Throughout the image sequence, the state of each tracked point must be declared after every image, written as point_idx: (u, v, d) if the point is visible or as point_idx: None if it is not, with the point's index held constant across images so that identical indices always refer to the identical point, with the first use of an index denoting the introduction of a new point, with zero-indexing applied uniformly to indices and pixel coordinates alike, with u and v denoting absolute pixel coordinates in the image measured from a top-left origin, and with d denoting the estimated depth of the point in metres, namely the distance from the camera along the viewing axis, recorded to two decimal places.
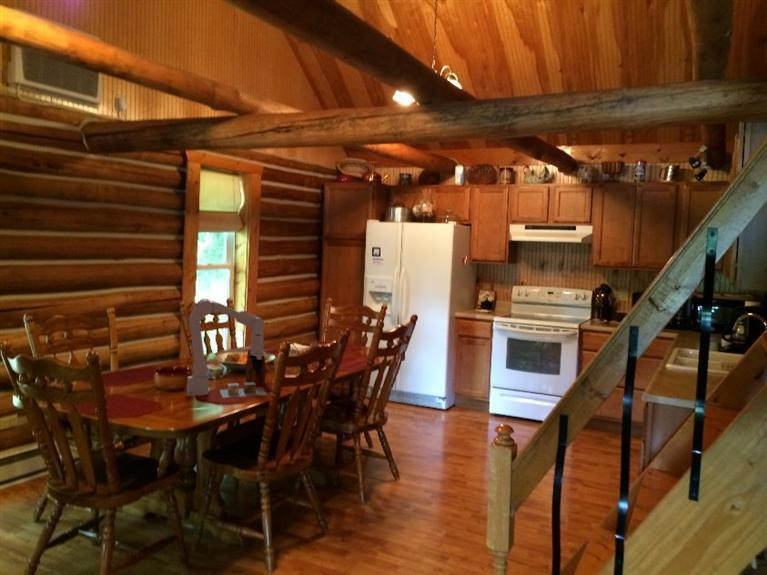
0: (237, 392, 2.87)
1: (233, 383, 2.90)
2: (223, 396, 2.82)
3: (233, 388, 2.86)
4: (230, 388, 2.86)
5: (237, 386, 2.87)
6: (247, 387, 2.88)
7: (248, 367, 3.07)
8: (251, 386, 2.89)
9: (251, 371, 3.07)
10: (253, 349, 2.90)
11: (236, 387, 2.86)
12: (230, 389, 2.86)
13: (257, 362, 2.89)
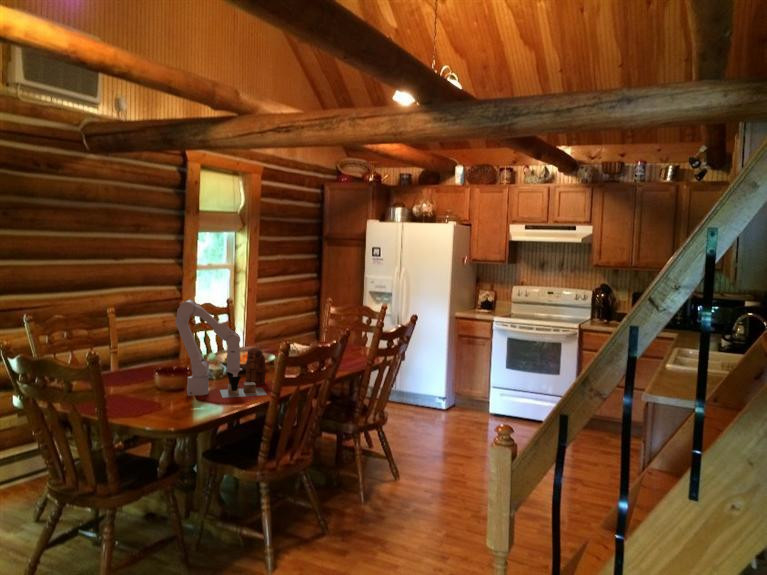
0: (237, 392, 2.87)
1: None
2: (223, 396, 2.82)
3: None
4: (230, 388, 2.86)
5: None
6: (247, 387, 2.88)
7: (248, 367, 3.07)
8: (251, 386, 2.89)
9: (251, 371, 3.07)
10: (229, 366, 2.85)
11: None
12: (230, 389, 2.86)
13: (233, 379, 2.84)
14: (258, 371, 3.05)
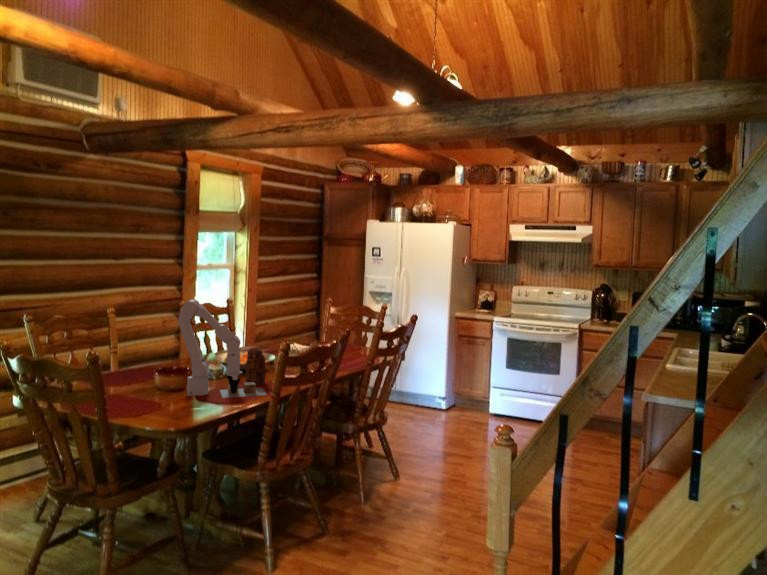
0: (237, 392, 2.87)
1: None
2: (223, 396, 2.82)
3: None
4: (230, 388, 2.86)
5: None
6: (247, 387, 2.88)
7: (248, 367, 3.07)
8: (251, 386, 2.89)
9: (251, 371, 3.07)
10: (229, 369, 2.85)
11: None
12: (230, 389, 2.86)
13: (233, 382, 2.85)
14: (258, 371, 3.05)
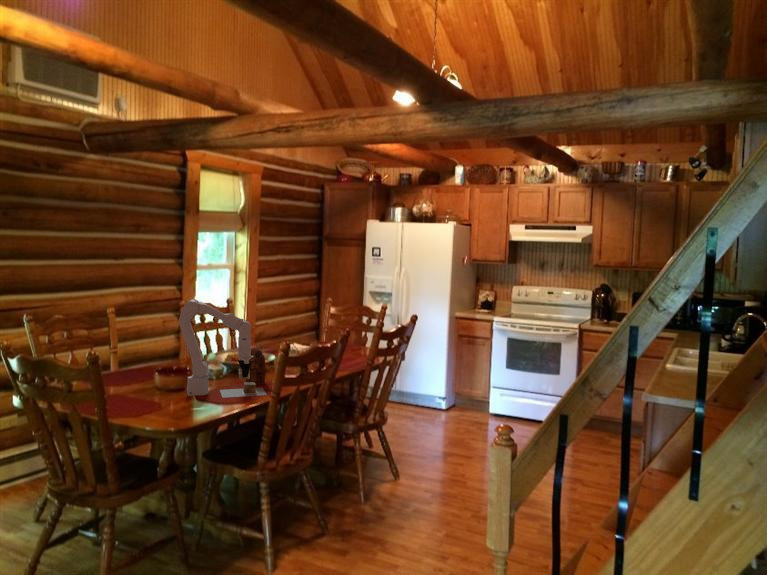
0: (248, 377, 2.88)
1: None
2: (223, 396, 2.82)
3: None
4: (241, 373, 2.87)
5: None
6: (247, 387, 2.88)
7: None
8: (251, 386, 2.89)
9: (251, 371, 3.07)
10: (240, 353, 2.86)
11: None
12: (241, 373, 2.87)
13: (244, 366, 2.86)
14: (258, 371, 3.05)
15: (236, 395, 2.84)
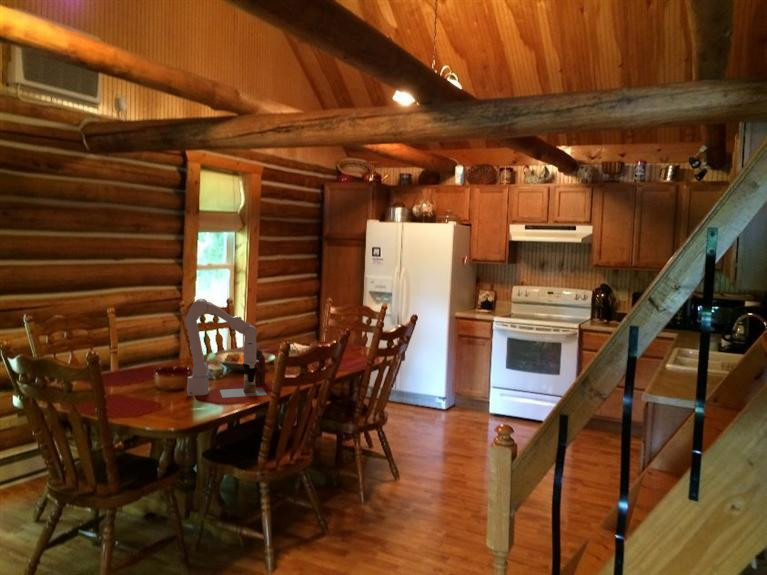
0: (253, 383, 2.89)
1: None
2: (223, 396, 2.82)
3: None
4: (246, 379, 2.88)
5: None
6: (247, 387, 2.88)
7: None
8: (251, 386, 2.89)
9: None
10: (246, 358, 2.87)
11: None
12: (246, 379, 2.88)
13: (250, 371, 2.86)
14: (258, 371, 3.05)
15: (236, 395, 2.84)
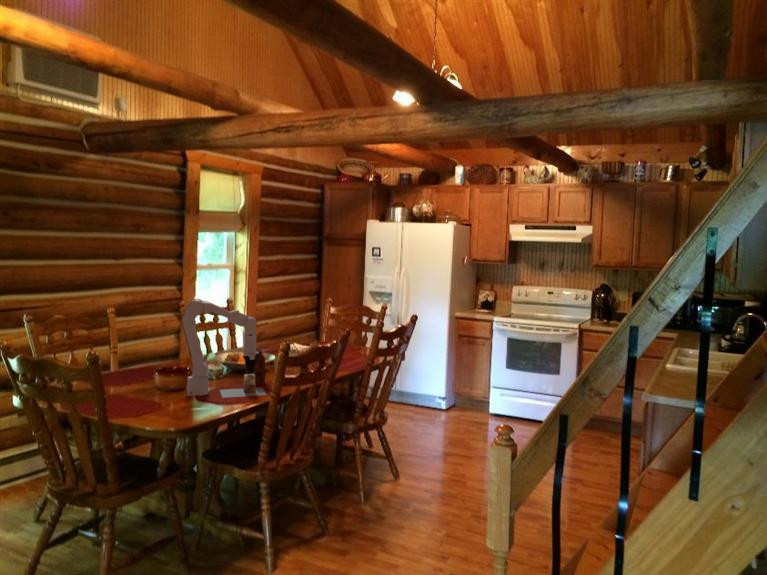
0: (253, 383, 2.89)
1: (249, 374, 2.92)
2: (223, 396, 2.82)
3: (249, 379, 2.88)
4: (246, 379, 2.88)
5: (253, 377, 2.89)
6: (247, 387, 2.88)
7: None
8: (251, 386, 2.89)
9: None
10: (246, 349, 2.87)
11: (252, 378, 2.89)
12: (246, 379, 2.88)
13: (249, 361, 2.87)
14: (258, 371, 3.05)
15: (236, 395, 2.84)
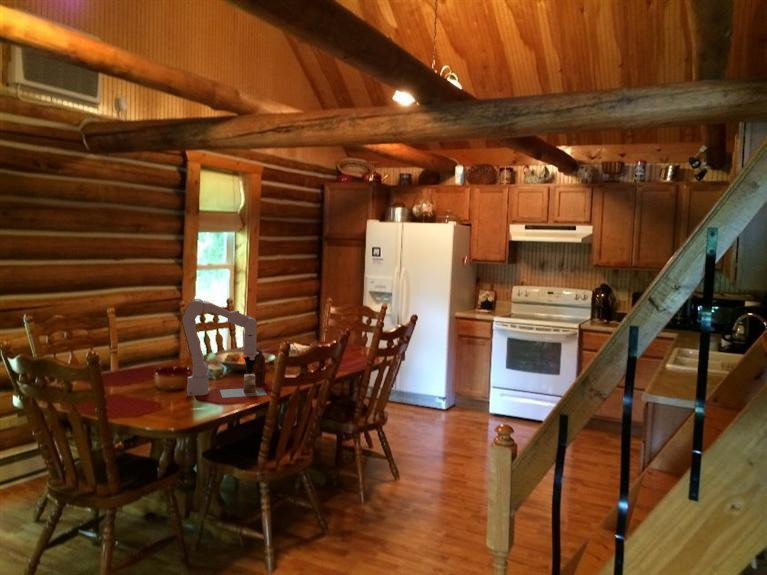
0: (253, 383, 2.89)
1: (249, 374, 2.92)
2: (223, 396, 2.82)
3: (249, 379, 2.88)
4: (246, 379, 2.88)
5: (253, 377, 2.89)
6: (247, 387, 2.88)
7: None
8: (251, 386, 2.89)
9: None
10: (246, 350, 2.87)
11: (252, 378, 2.89)
12: (246, 379, 2.88)
13: (249, 361, 2.89)
14: (258, 371, 3.05)
15: (236, 395, 2.84)
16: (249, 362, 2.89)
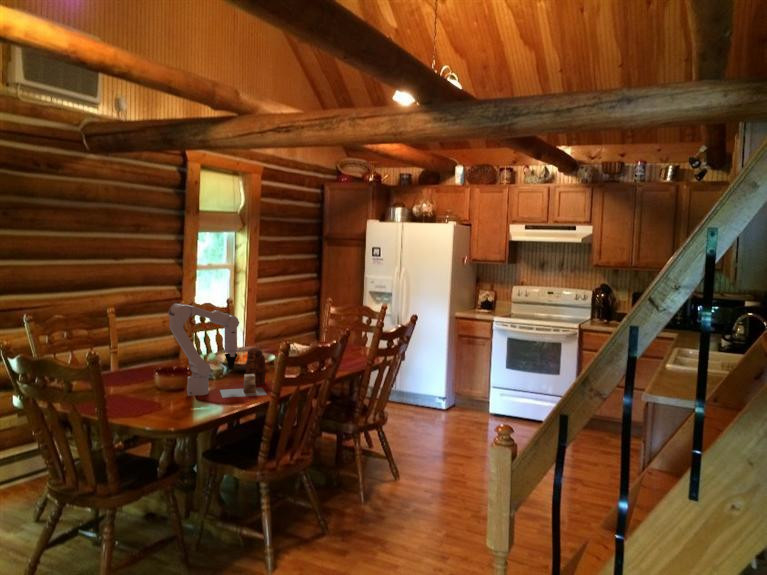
0: (253, 383, 2.89)
1: (249, 374, 2.92)
2: (223, 396, 2.82)
3: (249, 379, 2.88)
4: (246, 379, 2.88)
5: (253, 377, 2.89)
6: (247, 387, 2.88)
7: (248, 367, 3.07)
8: (251, 386, 2.89)
9: (251, 371, 3.07)
10: (226, 347, 2.91)
11: (252, 378, 2.89)
12: (246, 379, 2.88)
13: (230, 358, 2.94)
14: (258, 371, 3.05)
15: (236, 395, 2.84)
16: (230, 359, 2.94)
